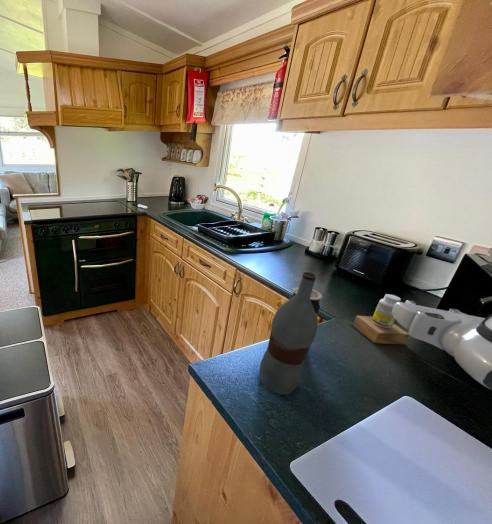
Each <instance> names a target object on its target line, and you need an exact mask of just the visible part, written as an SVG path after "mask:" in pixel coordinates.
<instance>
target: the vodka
mask: <svg viewBox="0 0 492 524" xmlns="http://www.w3.org/2000/svg"><path fill="white" fill-rule="evenodd" d="M317 278H318V276H317V275H316V274H315V273H313V272H309V271H304V272H303V273H302V276H301V279H300V283H299V286H298V287H299V289H298V292H297V294H296V295H295V296H293V297H292V298H291V299H289V298H288V300H286V301H285V302H284V303H282V304H281V305H280V306H279V307H278V308H277V310H276V312H275V313H274V315H273V318H272V321H271V327H270V334H269V340H268V345H267V347H266V350H265V351H264V354H263V356H262V358H261V361H260V364H259V372H258V373H259V379H260V382H261V384H262V385H263V386H264V387H265V388H266V389H267V390H269V391H270V392H272V393H274V394H278V395H282V396H283V395H284V396H287V395H290V394H292V392H293V391H295V390H296V388H297V387H298V384H299V383H300V381H301V379H302V378H301V377H302V373H303V365H304V361H305V359H306V357H307V354H308V352H309V350H310V348H311V346H312V344H313V342H314V341H315V339H316V336H317V330H318V315H316V313H315V310H314V308H313V305H312V303H311V300H310V296H311V292H312V289H313V290H314V286H315V281H316V279H317Z"/></svg>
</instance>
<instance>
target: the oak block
mask: <svg viewBox="0 0 492 524" xmlns="http://www.w3.org/2000/svg"><path fill="white" fill-rule="evenodd" d="M372 318H373V315H372V316H371V315H356V316H355V319H354V320H353V323H352V326H353V327H354V328H355V329H356V330H358V331H359V332H360V333H361V334H363V335H364V336H366V338H368V339H369V340H370V341H371V342H372V343H374V344H386V345H387V344H388V345H405V344H406V341H407V340H408V337H409V336H410V335H409V334H408V331H405V330H404V329H402V328H400V327H399V326H397V325H396V324H395V323H394V324H393V326H392V327H391V328H384V327H381V326H378V325H376V324H375V323H373V321H372Z"/></svg>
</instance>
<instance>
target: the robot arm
mask: <svg viewBox="0 0 492 524" xmlns="http://www.w3.org/2000/svg"><path fill="white" fill-rule="evenodd" d="M392 315H393V317H394V318H395V321H396V322H397V323H398V324H399V325H400V326H401V327H403V328H404V329H406V330H407V333H408V334H409V335H408V336H409V337H411V338H414V339H417V340H420V341H421V342H424V343H427V344H429V345H432V346H433V347H436V348H438V349H440V350H443V351H445V352H446V353H447V354H448V355H450V356H451V357H453V358H454V360H455V362H456V363H457V364H458V365H459V366H460V367H461V368H462V370H464V371H465V372H466V373H467V374H468V375H469V376H470V377H471V378H473V380H475V381H476V382H477V383H479V384H480V385H482V386H483V387H485V388H487V389H488V390H491V391H492V313H491V314H489V315H488V316H486V317H480V316H475V315H469V314H467V313H465V312H462V311H460V310H459V309H455V308H449V309H448V310H445V309H438V308H434V307H428V306H423V305H419V304H418V305H417V304H416V302H415V301H413V300H405V301H404V302H402V301H400V302H397V303H396V304H395V305H394V307H393V309H392Z"/></svg>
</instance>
